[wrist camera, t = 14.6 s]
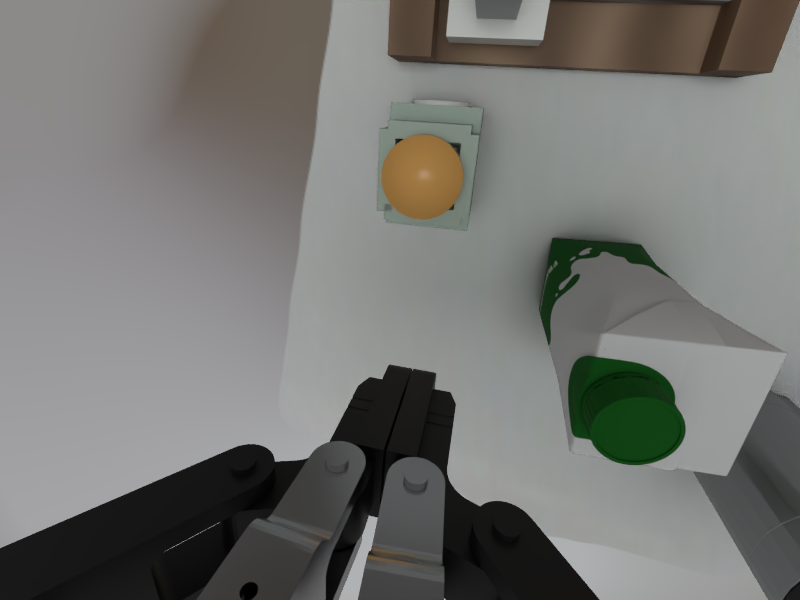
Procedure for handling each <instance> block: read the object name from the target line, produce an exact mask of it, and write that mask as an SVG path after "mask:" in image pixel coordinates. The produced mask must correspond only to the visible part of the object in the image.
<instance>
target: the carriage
mask: <svg viewBox="0 0 800 600" xmlns="http://www.w3.org/2000/svg"><path fill="white" fill-rule="evenodd" d="M549 3H550V0H449V9H448V20H447V31H446V37H447V39H448V41H449V43H473V44H498V45H522V46H539V45H540V43H541V42H542V41H543V37H544V32H545V26H546V20H547V15H548V9H549Z"/></svg>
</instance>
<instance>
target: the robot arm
mask: <svg viewBox="0 0 800 600" xmlns="http://www.w3.org/2000/svg"><path fill="white" fill-rule="evenodd" d="M435 381H436V373H434V372H428V371H423V370H417V369H413V371H412V369H411V368H406V367H400V366H395V365H389V366H388V368H387V370H386V372H385V374H384V377H383V379H377V378H372V377H369V378H368V379H367V380H365V381H364V382H363V383H361V384H360V385H359V386H358V388H357V389H356V391H355V393H354V395H353V398H352V399H351V401H350V403H349V405H348V408H347V409H346V411H345V413H344V415H343V417H342V419H341V421H340V423H339V425H338V426H337V428H336V430H335V432H334V434H333V436H332V438H331V440H330V442H328V443H325V444H323V445H321V446H320V447H318V448H317V449H315V450H314V451H313V453H312V454H311V455H310V457H309V458H307V459H304V460H297V461H280V462H275V461H274V456H273V454H272V453H271V451H270V450H268V449H267V448H265V447H263V446H260V445H255V444H248V445H242V446H238V447H235V448H233V449H230V450H228V451H226V452H223V453H221V454H218V455H216V456H214V457H212V458H209V459H207V460H204V461H202V462H200V463H197V464H195V465H193V466H191V467H188V468H186V469H183V470H181V471H179V472H176V473H174V474H172V475H170V476H167V477H165V478H163V479H160V480H158V481H156V482H153V483H151V484H149V485H146V486H144V487H142V488H139V489H137V490H135V491H132V492H130V493H128V494H125V495H123V496H121V497H118V498H116V499H114V500H111V501H109V502H107V503H105V504H102V505H100V506H98V507H95V508H93V509H91V510H88V511H86V512H83V513H81V514H79V515H77V516H74V517H72V518H70V519H67V520H65V521H63V522H60V523H58V524H56V525H53V526H51V527H49V528H46V529H44V530H42V531H39V532H37V533H35V534H32V535H30V536H28V537H25V538H23V539H21V540H18V541H16V542H14V543H11V544H9V545H7V546H5V547H2V548H0V600H339V597H340V595H341V592H342V590H343V587H344V585H345V582H346V580H347V577H348V575H349V572H350V570H351V567H352V565H353V562H354V560H355V557H356V554H357V552H358V550H359V547H360V544H361V540H362V534H363V531H364V529H365V525H366V522H367V519H368V516H369V515H370V516H374V517H378V520H377V525H376V530H375V535H374V539H373V545H372V549H371V551H369V553H368V556H367V560H366V564H365V569H364V574H363V578H362V583H361V588H360V592H359V597H358V600H444V598H445V599H446V600H599V599H598V597H597V596H596V595H595V594H594V593H593V591H592V590H591V589H590V588H589V587H588V586H587V584H586V583H585V582H584V581H583V580H582V578H581V577H580V576H579V575H578V574H577V573H576V571H575V570H574V569H573V568H572V566H571V565H570V564H569V563H568V562H567V560H566V559H565V558H564V557H563V556H562V555H561V553H560V552H559V551H558V550H557V549H556V547H555V546H554V545H553V544H552V543H551V541H550V540H549V539H548V538H547V536H546V535H545V534H544V533H543V532H542V531H541V529H540V528H539V527H538V526H537V525H536V523H535V522H534V521H533V520H532V519H531V517H530V516H529V515H528V514H527V513H525V512H524V511H523V510H522V509H520V508H519V507H517V506H515V505H513V504H510V503H507V502H502V501H492V502H488V503H485V504H483V505H482V506H481V507H480V506H478V505H476V504H474V503H472V502H471V501H469V500H467V499H465V498H464V497H462V496H461V495H460V494H459V493H458V492H457V491H456V490H455V489H454V488H453V486H452V485H451V483H450V481H449V479H448V475H447V465H448V457H449V450H450V443H451V435H452V428H453V421H454V413H455V406H456V404H455V402H454V399H453V397H452V395H451V393H450V392H446V391H441V390H436V389H434V388H435ZM693 472H694V474H695V476H696V477H697V479H698V481H699V482H700V484H701V486H702V488H703V489H704V491H705V493H706V494H707V496H708V498H709V499H710V501H711V503H712V505H713V506H714V508H715V510H716V511H717V513H718V515H719V517H720V518H721V520H722V522H723V523H724V525H725V527H726V529H727V530H728V532H729V534H730V535H731V537H732V539H733V541H734V542H735V544H736V546H737V547H738V549H739V551H740V553H741V554H742V556H743V558H744V559H745V561H746V563H747V565H748V566H749V568H750V570H751V571H752V573H753V575H754V576H755V578H756V580H757V581H758V583H759V585H760V587H761V588H762V590H763V592H764V593H765V595H766V597H767V598H768V600H800V408H799V407H797V406H796V405H795V404H794V403H793V402H792V401H791V400H790V399H789V398H786V397H780V396H777V395H776V394H775V393H774V392H772V391H771V390H769V392H768V394H767V396H766V398H765V400H764V402H763V404H762V406H761V408H760V410H759V412H758V414H757V416H756V418H755V420H754V422H753V424H752V426H751V428H750V430H749V432H748V434H747V436H746V438H745V440H744V442H743V444H742V446H741V449H740V451H739V453H738V455H737V457H736V459H735V461H734V463H733V465H732V467H731V469H730V471H729V473H728V474H727V476H722V475H715V474H709V473H702V472H696V471H693ZM219 522H220V523H219ZM217 523H218V524H217ZM215 524H216V525H215ZM213 525H215V526H213ZM211 526H213V527H211ZM209 527H211V528H209ZM208 528H209V529H208ZM205 529H207V530H205ZM204 530H205V531H204ZM202 531H203V532H202ZM200 532H201V533H200ZM198 533H199V534H198ZM196 534H198V535H196ZM194 535H196V536H194ZM192 536H194V537H192ZM190 537H192V538H190ZM189 538H190V539H189ZM187 539H188V540H187ZM185 540H186V541H185ZM183 541H184V542H183ZM181 542H182V543H181ZM179 543H181V544H179ZM177 544H179V545H177ZM175 545H177V546H175ZM173 546H175V547H173ZM172 547H173V548H172ZM170 548H171V549H170ZM168 549H169V550H168ZM166 550H168V551H166Z"/></svg>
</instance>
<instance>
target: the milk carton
mask: <svg viewBox="0 0 800 600" xmlns="http://www.w3.org/2000/svg"><path fill="white" fill-rule="evenodd" d="M539 311H540V315H541V319H542V323H543V326H544V330H545V334H546V337H547V341H548V345H549V348H550V352H551V355H552V359H553V363H554V366H555V370H556V374H557V378H558V382H559V388H560V394H561V400H562V406H563V412H564V418H565V424H566V431H567V437H568V444H569V450H570V451H571V452H572V453H574V454H580V455H585V456H591V457H598V458H603V459H609V460H612V461H615V462H618V463H622V464H627V465H646V466H650V467H653V468H657V469H663V470H670V471H674V470H675V469H676V468H677V469H683V470H689V471H696V472H702V473H709V474H715V475H722V476H727V474H728V473H729V471H730V469H731V467H732V465H733V463H734V461H735V459H736V457H737V455H738V453H739V451H740V449H741V446H742V444H743V442H744V440H745V438H746V436H747V434H748V432H749V430H750V428H751V426H752V424H753V422H754V420H755V418H756V416H757V414H758V412H759V410H760V408H761V406H762V404H763V402H764V400H765V398H766V396H767V394H768V392H769V390H770V388H771V386H772V384H773V382H774V380H775V378H776V376H777V374H778V372H779V370H780V368H781V366H782V364H783V362H784V360H785V358H786V356H787V353H785V352H783V351H781V350H780V349H778V348H776V347H774V346H772V345H771V344H769V343H767V342H765V341H764V340H762V339H760V338H758V337H757V336H755V335H753V334H751V333H750V332H748V331H746V330H744V329H743V328H741V327H739V326H737V325H736V324H734V323H732V322H731V321H729V320H727V319H725V318H724V317H722V316H720V315H719V314H717V313H715V312H713V311H712V310H710V309H708V308H707V307H705V306H703V305H702V304H700V303H699V302H698V301H697V300H696V299H695V298H693V297H692V296H691V295H690V294H689V293H688V292H687V291H685V290H684V289H683V288H682V287H681V286H680V285H679V284H677V283H676V282H675V281H674V280H673V279H672V278H671V277H669V276H668V275H667V274H666V273H665V272H664V271H663V270H661V269H660V268H659V267H658V266H657V265H656V264H655V263H654V261H653V260H652V259H651V258H650V256H649V255H648V254H647V252H646V251H645V250H644V248H643V247H642V246H641V245H638V244H625V243H612V242H599V241H586V240H573V239H560V238H553V240H552V245H551V250H550V255H549V261H548V266H547V271H546V276H545V282H544V287H543V292H542V297H541V303H540V308H539Z"/></svg>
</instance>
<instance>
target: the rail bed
mask: <svg viewBox="0 0 800 600" xmlns="http://www.w3.org/2000/svg"><path fill="white" fill-rule="evenodd" d="M799 1H800V0H550V3H549V9H548V15H547V20H546V26H545V32H544V37H543V41H542V42H541V43H540V45H539V46H522V45H498V44H473V43H449V41H448V39H447V37H446V31H447V20H448V9H449V0H390V17H389V42H388V55H389V56H391V57H392V58H394V59H396V60H397V61H400V62H421V63H441V64H462V65H483V66H504V67H525V68H546V69H566V70H587V71H608V72H629V73H650V74H671V75H691V76H712V77H733V78H737V77H743V76H750V75H757V74H764V73H770V72H772V70H773V68H774V65H775V63H776V60H777V58H778V55H779V52H780V50H781V47H782V45H783V42H784V40H785V37H786V34H787V32H788V29H789V27H790V24H791V22H792V19H793V16H794V14H795V11H796V9H797V6H798V4H799Z"/></svg>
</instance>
